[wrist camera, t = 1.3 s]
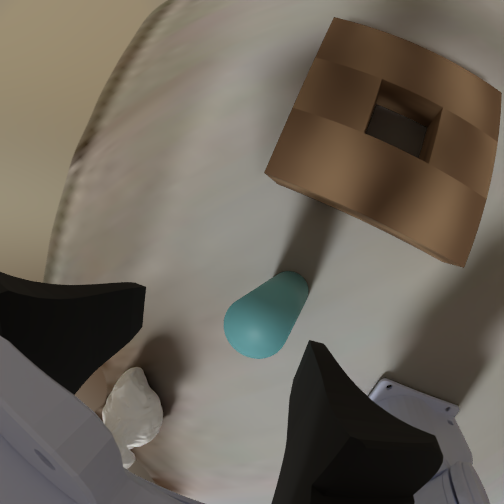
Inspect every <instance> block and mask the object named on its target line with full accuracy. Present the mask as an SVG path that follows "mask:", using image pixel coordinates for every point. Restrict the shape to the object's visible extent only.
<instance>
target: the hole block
mask: <svg viewBox="0 0 504 504" xmlns="http://www.w3.org/2000/svg"><path fill="white" fill-rule="evenodd" d="M501 94H502V93H501V92H500V91H498V90H497V89H495V88H494V87H493V86H491V85H490V84H488V83H487V82H485V81H484V80H482V79H480V78H479V77H477V76H476V75H474V74H472V73H471V72H469V71H467V70H466V69H464V68H462V67H461V66H459V65H457V64H455V63H453V62H451V61H450V60H448V59H446V58H444V57H442V56H440V55H438V54H436V53H434V52H432V51H430V50H427V49H425V48H423V47H421V46H419V45H416V44H414V43H412V42H409V41H407V40H404V39H402V38H399V37H397V36H394V35H391V34H389V33H386V32H383V31H380V30H377V29H374V28H371V27H368V26H365V25H361V24H358V23H354V22H351V21H347V20H343V19H339V18H335V17H334V18H333V20H332V23H331V25H330V27H329V29H328V31H327V33H326V35H325V37H324V40H323V42H322V44H321V46H320V48H319V50H318V53H317V55H316V57H315V59H314V61H313V63H312V66H311V68H310V70H309V72H308V74H307V77H306V79H305V81H304V83H303V86H302V88H301V90H300V92H299V94H298V97H297V99H296V101H295V103H294V106H293V108H292V110H291V112H290V115H289V117H288V119H287V122H286V124H285V126H284V128H283V131H282V133H281V135H280V138H279V140H278V142H277V144H276V147H275V149H274V151H273V154H272V156H271V158H270V161H269V163H268V165H267V168H266V170H265V172H264V173H265V174H266V175H268V176H269V177H270V178H271V179H272V180H274V181H275V182H276V183H277V184H279V185H281V186H284V187H286V188H289V189H291V190H294V191H296V192H299V193H301V194H303V195H306V196H308V197H311V198H313V199H315V200H318V201H320V202H322V203H324V204H327V205H329V206H331V207H334V208H336V209H338V210H340V211H342V212H345V213H347V214H349V215H351V216H353V217H356V218H358V219H360V220H362V221H364V222H366V223H368V224H370V225H372V226H375V227H377V228H379V229H381V230H383V231H385V232H387V233H389V234H391V235H393V236H395V237H397V238H399V239H401V240H403V241H405V242H407V243H408V244H410V245H412V246H414V247H416V248H418V249H420V250H422V251H424V252H425V253H427V254H429V255H431V256H433V257H435V258H436V259H438V260H440V261H442V262H445V263H449V264H452V265H456V266H460V267H463V268H464V266H465V264H466V261H467V259H468V256H469V253H470V251H471V248H472V245H473V242H474V239H475V236H476V233H477V230H478V227H479V224H480V221H481V217H482V214H483V210H484V206H485V203H486V199H487V195H488V191H489V186H490V182H491V177H492V172H493V167H494V162H495V156H496V149H497V142H498V135H499V125H500V114H501ZM376 104H377V105H380V106H382V107H384V108H387V109H389V110H391V111H394V112H396V113H398V114H400V115H403V116H405V117H407V118H409V119H411V120H413V121H415V122H417V123H419V124H421V125H423V126H425V127H427V131H426V134H425V138H424V142H423V145H422V149H421V152H420V156H419V158H417V157H415V156H413V155H411V154H409V153H407V152H405V151H403V150H401V149H399V148H396V147H394V146H392V145H390V144H388V143H386V142H384V141H381V140H379V139H377V138H374V137H372V136H370V135H367V134H366V131H367V128H368V126H369V123H370V120H371V117H372V114H373V111H374V108H375V105H376Z"/></svg>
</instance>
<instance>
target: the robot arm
mask: <svg viewBox="0 0 504 504" xmlns="http://www.w3.org/2000/svg"><path fill="white" fill-rule="evenodd" d="M145 293H146V287H145V286H142V285H139V284H137V283H132V282H121V283H107V284H92V285H57V284H47V283H41V282H33V281H29V280H25V279H21V278H17V277H13V276H10V275H7V274H5V273H2V272H0V504H205V503H202V502H199V501H196V500H193V499H190V498H187V497H185V496H182V495H180V494H177V493H175V492H172V491H170V490H167V489H165V488H163V487H160V486H158V485H156V484H154V483H152V482H149V481H147V480H145V479H143V478H141V477H139V476H137V475H135V474H133V473H131V472H130V471H128V470H127V469H125V468H124V467H123V463H122V457H121V453H120V450H119V447H118V445H117V443H116V441H115V439H114V437H113V435H112V433H111V431H110V430H109V429H108V428H107V427H106V426H105V424H104V423H103V422H102V421H101V420H100V418H99V417H98V416H97V415H96V413H95V412H94V411H92V410H91V409H90V408H89V407H88V406H86V405H85V404H84V403H83V402H82V401H81V400H79V399H78V398H77V397H76V396H75V393H76V392H77V391H78V390H79V388H80V387H81V386H82V385H83V384H84V383H85V381H86V380H87V379H88V378H89V377H90V376H91V375H92V374H93V373H94V372H95V371H96V370H97V369H98V368H99V367H100V366H101V365H103V364H104V363H105V362H106V361H107V360H108V359H110V358H111V357H112V356H113V355H115V354H116V353H117V352H118V351H119V350H120V349H122V348H123V347H124V346H125V345H126V344H127V343H129V342H130V341H131V340H132V339H133V337H134V336H135V335H136V334H137V333H138V331H139V330H140V329H141V328H142V324H143V312H144V302H145ZM388 385H391V387H389V388H387V386H388ZM447 407H449V408H448V409H446V408H447ZM458 412H459V407H458V406H457V405H455V404H452V403H449V402H446V401H443V400H441V399H438V398H435V397H433V396H430V395H427V394H425V393H422V392H419V391H417V390H414V389H412V388H409V387H407V386H404V385H402V384H399V383H397V382H394V381H392V380H389V379H386V378H384V379H381V380H380V381H379V382H378V384H377V385H376V386H375V388H374V389H373V391H372V392H371V393H370V395H369V396H367V395H366V394H365V393H363V392H362V391H361V390H360V389H359V388H358V387H357V386H356V385H355V383H354V382H353V381H352V380H351V379H350V378H349V377H348V376H347V374H346V373H345V372H344V371H343V369H342V368H341V367H340V365H339V364H338V363H337V361H336V360H335V358H334V357H333V356H332V354H331V353H330V351H329V350H328V349H327V347H326V346H325V345H324V344H322V343H319V342H315V341H311V340H309V342H308V345H307V347H306V350H305V352H304V355H303V357H302V360H301V362H300V365H299V367H298V370H297V372H296V375H295V377H294V379H293V384H292V389H291V394H290V400H289V415H288V429H287V442H286V449H285V454H284V458H283V463H282V467H281V471H280V475H279V479H278V483H277V487H276V490H275V494H274V497H273V500H272V504H490V502H489V499H488V496H487V494H486V491H485V489H484V487H483V485H482V482H481V480H480V478H479V476H478V474H477V472H476V471H475V469H474V467H473V466H472V464H473V458H472V453H471V451H470V449H469V446H468V444H467V442H466V440H465V438H464V436H463V434H462V432H461V430H460V428H459V426H458V424H457V422H456V420H455V418H454V417H455V416H456V415H457V413H458Z"/></svg>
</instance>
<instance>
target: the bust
mask: <svg viewBox="0 0 504 504" xmlns="http://www.w3.org/2000/svg"><path fill="white" fill-rule="evenodd" d="M102 417H103V423H104V424H105V426H106V427H107V428H108V429H109V430H110V431H111V433H112V435H113V437H114V439H115V441H116V443H117V445H118V447H119V450H120V453H121V457H122V463H123V467H124V468H125V469H128V468H129V467H130V466H131V465H132V464H133V463H134V462H135V455H134V454H133V453H132V452H131V451H130V450H129V449H132V448H133V447H140V446H142V445H143V444H146V443H148V442H150V441H151V440H153V439H154V437H155V436H156V435H157V434H158V432H159V429H160V427H161V425H162V421H163V410H162V406H161V403H160V399H159V397H158V395H157V394H156V393H155V392H154V391H153V390H152V389H151V388H150V387H149V385H148V382H147V379H146V376H145V375H144V371H143V370H142V369H141V368H140V367H134V368H130V369H128V370H127V371H125V372H124V373H123V375H122V376H121V377H120V378H119V380H118V381H117V383H116V384H115V386H114V388H113V390H112V392H111V393H110V395H109V397H108V398H107V402H106V405H105V406H104V408H103V411H102Z"/></svg>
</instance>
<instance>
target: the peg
mask: <svg viewBox="0 0 504 504" xmlns="http://www.w3.org/2000/svg"><path fill="white" fill-rule="evenodd" d="M307 297H308V285H307V283H306V281H305V279H304V278H303V277H302V276H301V275H299V274H298V273H295V272H292V271H285V272H281V273H279V274H277V275H276V276H274V277H273V278H271V279H270V280H268V281H267V282H265V283H264V284H262V285H261V286H259V287H258V288H256V289H254V290H253V291H251V292H250V293H248V294H247V295H245V296H243V297H242V298H240V299H239V300H237V301H236V302H234V303H233V304H232V305H231V306H230V307H229V309H228V310H227V312H226V315H225V318H224V331H225V335H226V337H227V339H228V341H229V343H230V344H231V346H232V347H233V348H234V349H235V350H236V351H238V352H239V353H241V354H242V355H245V356H247V357H250V358H256V359H261V358H267V357H270V356H272V355H274V354H276V353H277V352H278V351H279V350H280V349H281V348H282V347H283V345H284V344H285V342H286V340H287V338H288V336H289V334H290V332H291V330H292V328H293V326H294V324H295V322H296V320H297V318H298V316H299V314H300V312H301V310H302V308H303V306H304V304H305V302H306V299H307Z"/></svg>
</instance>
